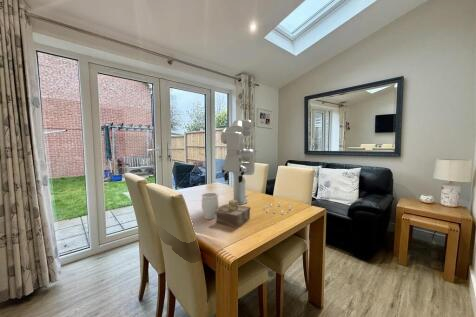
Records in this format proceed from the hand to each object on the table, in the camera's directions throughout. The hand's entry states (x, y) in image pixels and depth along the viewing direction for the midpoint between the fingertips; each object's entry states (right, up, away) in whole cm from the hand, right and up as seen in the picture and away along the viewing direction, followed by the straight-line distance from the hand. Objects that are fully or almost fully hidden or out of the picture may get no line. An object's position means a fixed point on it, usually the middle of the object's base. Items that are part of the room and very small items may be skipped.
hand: (233, 181), depth 127 cm
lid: (0, -18, +2) cm, 18 cm away
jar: (-15, -25, +10) cm, 31 cm away
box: (0, -25, +3) cm, 25 cm away
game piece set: (+31, -23, +25) cm, 46 cm away
